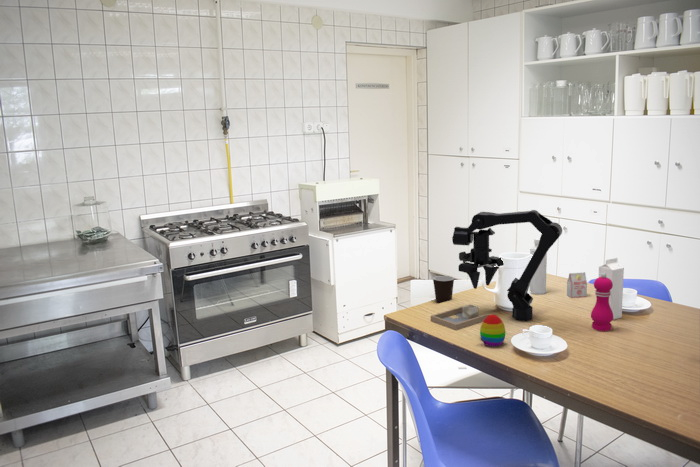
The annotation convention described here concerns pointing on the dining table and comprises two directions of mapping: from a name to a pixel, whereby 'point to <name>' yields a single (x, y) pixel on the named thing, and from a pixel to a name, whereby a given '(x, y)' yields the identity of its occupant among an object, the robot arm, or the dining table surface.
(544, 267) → the grey bottle
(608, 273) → the milk
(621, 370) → the dining table surface
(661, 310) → the dining table surface
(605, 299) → the pepper mill
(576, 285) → the printed paper bag
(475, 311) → the block
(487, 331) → the decorative egg
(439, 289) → the coffee mug
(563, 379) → the dining table surface
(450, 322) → the brown rectangular tray
